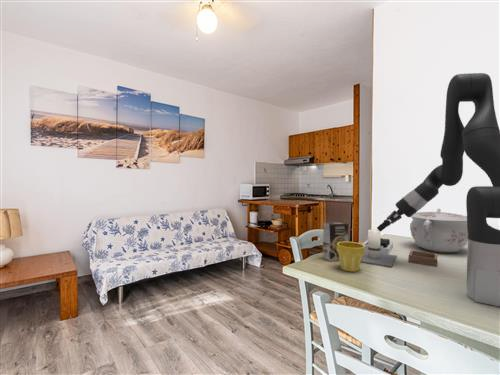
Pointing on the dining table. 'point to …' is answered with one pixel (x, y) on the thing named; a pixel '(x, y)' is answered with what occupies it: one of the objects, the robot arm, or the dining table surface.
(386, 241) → the electronic device
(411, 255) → the walnut collar
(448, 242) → the chamber pot
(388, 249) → the grey organizer frame
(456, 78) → the robot arm
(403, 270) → the dining table surface
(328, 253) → the coffee box
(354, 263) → the plant pot
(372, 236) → the white capsule dome
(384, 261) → the charcoal mat
